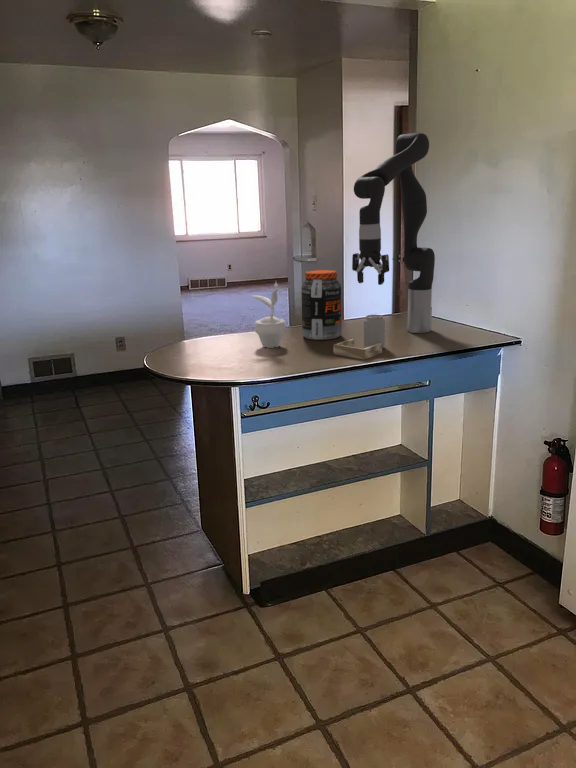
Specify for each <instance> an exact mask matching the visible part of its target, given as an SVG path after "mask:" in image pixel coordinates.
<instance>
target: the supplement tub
mask: <svg viewBox="0 0 576 768" xmlns="http://www.w3.org/2000/svg"><path fill="white" fill-rule="evenodd" d="M337 277H338V272H337V270H332V269H316V270H315V269H314V270H307V271H305V273H304V278H305V280H304V281H303V282H302V284H301V292H300V293H301V325H302V326H301V327H302V335H303V337H304V338H306V339H308V340H317V341H319V340H321V341H322V340H325V341H326V340H334V339H337V338H339V337H340V336H341V334H342V284H341V283H340V281H339V280H338V278H337Z"/></svg>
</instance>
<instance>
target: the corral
mask: <svg viewBox="0 0 576 768" xmlns="http://www.w3.org/2000/svg"><path fill="white" fill-rule="evenodd" d="M332 349H333V355H335V356H336V355H338V356H341V357H342V356H343V357H348V358H352V359H360V360H367V359H369V358H371V357H374V356H375V357H376V356H378V355H380V354H383V348H382V343H378V344H375V345H372V346H369V347H365V348H364V347H356V346H355V339H354V338H349V339H347V340H346V339H345V340H344V341H343V340H342V341H340V342H338V343H337V342H336V343H333V348H332Z"/></svg>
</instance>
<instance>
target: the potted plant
mask: <svg viewBox="0 0 576 768" xmlns="http://www.w3.org/2000/svg"><path fill="white" fill-rule="evenodd" d="M273 286H274V288H275V289H274V290H273V292H272V293H271V297H270V298H269V297H267V296H263V295H257V294H256V295H255V294H252V295H251V296H252V298H254V299H256V300H259V301H260V302H261V303H263V304H264V305H265V306H267V307H268V308H270V312H269V316H266V317H262V318H260V319H258V320H255V321H254V331H255V333H256V334H257V336H258V337H259V340H260V342H261V345H262V347H264V348H265V347H267V348H266V349H275V348H274V347H276V348H278V347H279V346H280V345H281V342H282V339H283V336H284V333H285V332H287V329H286V328H287V324H286V322H287V321H286V320H285V319H284V318H277V317H276V315H275V314H274V313H275V305H276V304H277V302H278V292H279V293H281V292H282V290H281V287H278V286H279V284H278V283H277V281H275V283H274V284H273ZM277 287H278V288H277ZM274 315H275V316H274Z"/></svg>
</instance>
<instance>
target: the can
mask: <svg viewBox="0 0 576 768" xmlns="http://www.w3.org/2000/svg"><path fill="white" fill-rule="evenodd" d="M385 327H386V321H385V318H384V315H382V314H368V315H366V316H365V318H364V320H363V333H364V334H363V346H364V347H365V348H366V347H369V346H372V345H375V344H378V343H382V349H383V348H384V347H385V343H386V341H385V340H386V339H385V337H386V336H385V333H386V331H385V330H386V328H385Z"/></svg>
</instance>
